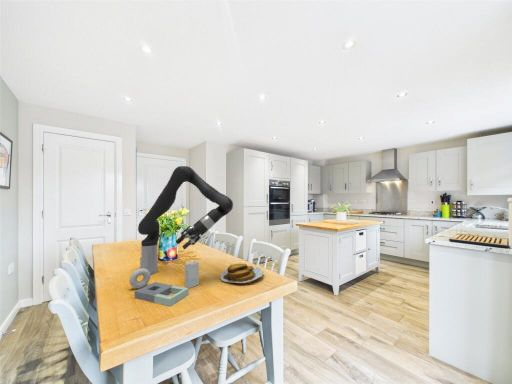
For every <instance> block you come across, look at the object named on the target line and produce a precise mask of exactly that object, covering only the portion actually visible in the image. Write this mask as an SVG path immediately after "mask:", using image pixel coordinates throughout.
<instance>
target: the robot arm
mask: <svg viewBox="0 0 512 384" xmlns="http://www.w3.org/2000/svg"><path fill="white" fill-rule="evenodd" d="M185 182H186V183H187V182H188V183H189V184H192V185H193V186H194V187H195V188H196V189H198V191H199V192H200V193H201V194H202V196H203V197H204V198H206V199H207V200H209V201H210V202H212V203H215V204H217V206H216V207H215V208H213V209H211V210H209V211H208V213H206V214H204V215H203V216H202V217H201V218H200V219H198V220H197V221H196V222H195V223H194V224H193V227H192V226H191V225H189V226H188V227H187V226H186V228H185V229H183V231H181V232H180V235H181V236H180V237H178V238H177V239H176V240H175V243H176V244H177V245H180V244H181V243H183V241H184V240H185V239H188V241H187V242H185V243H184V244H183V245H182V246H181V248H183V250H186V249H187V248H188V247H189V246H195V244H196V243H197V242H198V241H200V240H201V236H204V235H205V234H206V233H207V232H208V231H209V230H210V229H211V228H212V227H213V226H214V225H216V223H218V221H219V220H221V219H222V218H223V217H226V216H227V215H228V214H229V213H230V212H231V211H232V210H233V207H234V203H233V200H232V199H231V198H230V197H229V196H227V195H225V194H224V193H221V192H220V191H219V190H217V189H216V188H215V187H213V186H211V185H210V184H209V183H208V182H206V181H205V180H204V179H203V178H202V176H201V177H200V175H199V174H198V173H196V171H195V170H194V169H193V168H191V167H190V166H188V165H180V166H176V167H175V169H174V170H173V171H172V174H171V175H170V178H169V180H168V182H167V183H166V185H164V188H163V189H162V191H161V192H160V194H159V196H157V198H156V200H155V202H154V203H153V204H152V206H151V208H150V209H149V210H148V212H147V213H146V214H145V215H144V217H143V218H142V219H141V220H140V222H139V223H138V228H137V231H138V234H140V235H142V236H143V235H144V236H146V235H147V236H146V237H145V238H144V239H142V240H141V245H140V246H141V247H140V249H141V252H140V255H141V256H140V258H139V269H141V268H144V269H147V270H148V271H149V272H150V275H153V274H156V273H158V268H159V267H158V265H159V264H158V256H159V255H158V252H159V250H158V248H159V247H158V243H159V239H160V229H161V228H160V227H161V226H160V222H159V221H158V218H160V217H162V216H163V215H164V214H166V213H167V212H169V210H170V209H171V207H172V206H173V205H174V204H175V200H176V199H177V197H176V196H177V192H178V191H179V189H180V187H181V186H182V185H183V184H184V183H185Z"/></svg>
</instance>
